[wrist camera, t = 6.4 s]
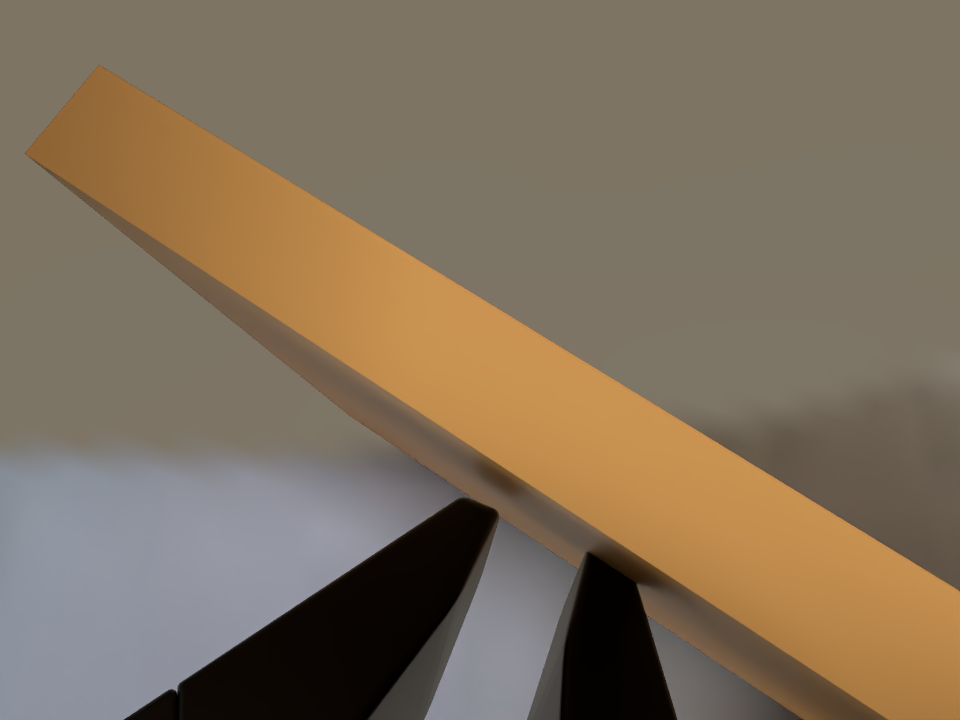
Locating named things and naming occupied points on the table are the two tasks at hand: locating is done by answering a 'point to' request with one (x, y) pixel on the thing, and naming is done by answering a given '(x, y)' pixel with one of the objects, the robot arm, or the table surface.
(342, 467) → the table surface
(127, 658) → the table surface
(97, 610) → the table surface
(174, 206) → the side door
